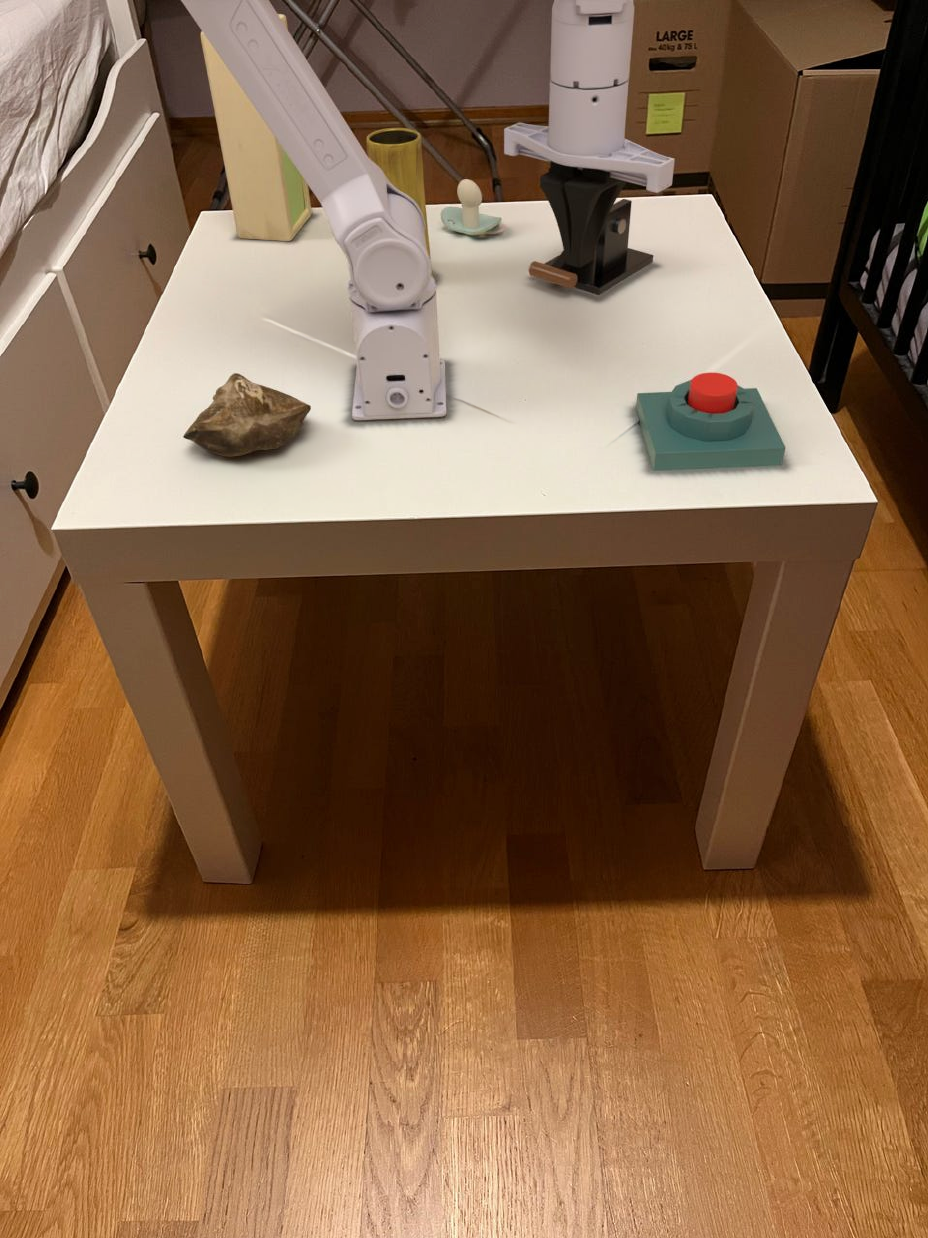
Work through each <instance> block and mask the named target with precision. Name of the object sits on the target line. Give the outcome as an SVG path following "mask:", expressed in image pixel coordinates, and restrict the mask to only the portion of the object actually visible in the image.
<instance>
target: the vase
mask: <svg viewBox="0 0 928 1238" xmlns="http://www.w3.org/2000/svg"><path fill="white" fill-rule="evenodd" d="M422 145H423V143H422V135H421V133H420V132H419V131H417V130H414V129H413V128H412V129H411V128H406V127H389V128H387V127H386V128H381V129H378V130H375V131H372V132H371V133H369V134H368V135H367V136H366V152H367V153H366V155H367V156H368V157H369V159H371V160H372V161H373V162H374V163H375V164H376V165H377V166H379V167H380V168H381V169H382V171H383V172H384V174H385V176H386V177H387V179H388V180H389V181H390V183H391V184H392V185H393V186H394V187H395V188H397V189H398V190H400V191H401V192H403V193H405V194H406V195H408V196H409V197H411V198H412V199H413V200H414V201H415V202H416V203H417V205H418V206H419V208H420V209H421V211H422V214H423V216H424V221H425V241H426V248H427V252H428V255H429V258H430V261H431V262H432V260H431V259H432V258H431V248H430V246H431V245H430V237H429V229H428V216H427V204H426V194H425V192H426V191H425V180H424V179H425V178H424V164H423V163H424V162H423V148H422V147H423V146H422ZM431 270H432V272H431V276H432V277H433V278H434V271H433V267H431Z"/></svg>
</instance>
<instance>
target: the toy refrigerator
mask: <svg viewBox="0 0 928 1238" xmlns="http://www.w3.org/2000/svg"><path fill="white" fill-rule="evenodd" d="M277 14H278V16H279V17H280V19H281V20H282V22H283V24H284V25H285V27H286V28H287V30H288V31H289V29H288V22H287V21H288V20H287V16H286V15H285V14H281V13H277ZM200 41H201V47H202V51H203V57H204V62H205V68H206V73H207V80H208V85H209V89H210V94H211V99H212V105H213V110H214V116H215V120H216V126H217V131H218V137H219V144H220V147H221V149H220V150H221V153H222V159H223V164H224V171H225V176H226V180H227V181H226V182H227V185H228V192H229V197H230V202H231V207H232V213H233V219H234V223H235V229H236V233H237V236H238V238H239V239H243V240H245V239H248V240H263V241H280V242H291V241H292V240H293V239H294V238H295V237H296V235H298V233H299V232H300V231H301V229H302V228H303V226H304V225H305V224H306V223H307V222H308V220H309V219H311V216H312V205H311V197H310V191H309V186H308V184H307V183H306V181H305V180H304V178H303V177H302V175H301V174H300V172H299V171H298V170H297V168H296V167H295V165H294V164H293V162H292V161H291V159H290V158H289V156H288V155H287V154H286V152H285V151H284V149H283V148H282V146H281V145H280V143H279V142H278V141H277V139H276V138H275V136H274V135H273V133H272V132H271V130H270V129H269V127H268V126H267V125H266V123H265V122H264V120H263V119H262V117H261V116H260V114H259V113H258V111H257V110H256V109H255V107H254V106H253V104H252V103H251V101H250V100H249V98H248V97H247V95H246V94H245V93H244V91H243V90H242V88H241V87H240V85H239V84H238V82H237V81H236V80H235V78H234V77H233V75H232V74H231V72H230V71H229V69H228V68H227V66H226V65H225V64H224V62H223V61H222V59H221V58H220V56H219V55H218V53H217V52H216V50H215V49H214V48H213V46H212V45H211V43H210V42H209V40H208V39H207V37H206V36H205V34H204V33H203V32H202V30H201V31H200Z"/></svg>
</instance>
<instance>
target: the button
mask: <svg viewBox="0 0 928 1238" xmlns="http://www.w3.org/2000/svg"><path fill="white" fill-rule="evenodd" d="M690 380H691V383H690V390H689V397H688V404H689V406H690V407H692V408H693V409H695V410H697V411H701V412H705V413H710V414H718V413H726V412H729V411H731V410H732V409H733V408H734V404H735V399H736V393H737V388H738V385H739V384H738V383H737V381H736V380H735V378H733V377H731V376H729V375H727V374H724V373H720V372H711V371H710V372H703V373H698V374H697V375H694V376H693V377H692V378H691V379H690Z"/></svg>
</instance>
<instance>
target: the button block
mask: <svg viewBox="0 0 928 1238" xmlns="http://www.w3.org/2000/svg"><path fill="white" fill-rule="evenodd" d="M691 380H692V379H689V380H687V381H684V382H682V383H679V384H676V385H675V386H674V387H673V389H672V390H671V391H656V392H654V391H653V392H637V394H636V401H635V402H636V403H635V407H636V411H637V414H638V418H639V420H638V423H639V427H640V430H641V433H642V436H643V440H644V443H645V447H646V450H647V453H648V456H649V460H650V463H651V466H652V467H651V468H652V470H653V472H657V471H658V472H659V471H679V470H681V471H684V470H705V469H706V470H707V469H728V468H730V469H731V468H749V467H750V468H751V467H772V466H773V467H774V466H776V467H777V466H782V465H783V460H784V456H785V452H786V445H785V443H784V442H783V439H782V438H781V435H780V433H779V431H778V429H777V427H776V425H775V423H774V421H773V419H772V417H771V415H770V413H769V411H768V408H767V405H766V404H765V403H764V400H763V398H762V396H761V394H760V392H759V390H758V388H757V387H750V388H749V387H748V388H746V387H745V388H744V387H743V386H741V385H739V384H737V385H738V388H737V393H736V399H735V404H734V408H733V409H732V410H731V411H729V412H726V413H718V414H710V413H705V412H701V411H697V410H695V409H693V408H692V407H690V406H689V404H688V397H689V390H690V383H691Z"/></svg>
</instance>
